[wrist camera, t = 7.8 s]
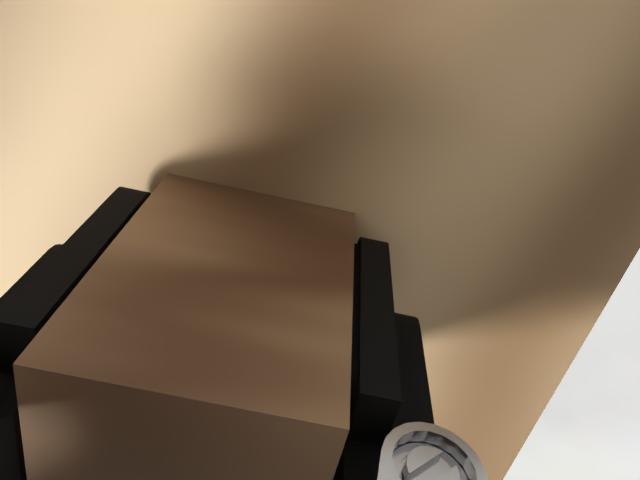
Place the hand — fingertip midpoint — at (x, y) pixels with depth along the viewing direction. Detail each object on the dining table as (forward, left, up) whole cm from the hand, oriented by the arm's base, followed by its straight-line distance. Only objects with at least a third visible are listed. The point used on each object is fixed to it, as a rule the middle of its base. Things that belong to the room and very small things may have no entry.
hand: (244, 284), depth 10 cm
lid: (0, 0, -2) cm, 2 cm away
